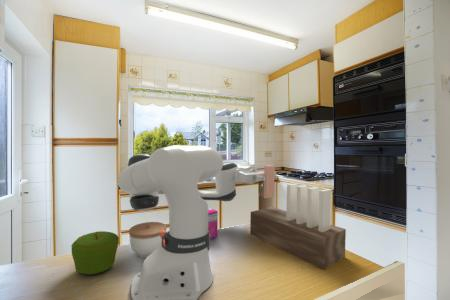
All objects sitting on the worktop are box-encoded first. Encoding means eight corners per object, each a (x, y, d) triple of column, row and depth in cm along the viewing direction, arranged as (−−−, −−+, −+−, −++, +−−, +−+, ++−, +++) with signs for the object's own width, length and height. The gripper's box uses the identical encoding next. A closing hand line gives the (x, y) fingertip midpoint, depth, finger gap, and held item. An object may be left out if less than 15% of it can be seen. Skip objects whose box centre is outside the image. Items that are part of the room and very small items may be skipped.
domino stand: (323, 269, 71) (324, 238, 71) (250, 234, 98) (250, 211, 98) (344, 257, 79) (345, 229, 79) (271, 227, 106) (272, 206, 106)
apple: (64, 284, 62) (64, 244, 62) (80, 261, 74) (80, 228, 73) (113, 277, 65) (113, 239, 65) (121, 257, 77) (121, 224, 77)
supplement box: (198, 236, 95) (199, 209, 95) (210, 233, 99) (210, 207, 99) (206, 241, 91) (206, 213, 91) (218, 237, 94) (218, 210, 94)
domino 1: (266, 198, 97) (266, 165, 96) (263, 197, 98) (264, 165, 97) (273, 196, 99) (274, 165, 99) (271, 196, 101) (271, 165, 100)
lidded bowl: (155, 264, 73) (155, 230, 73) (121, 259, 76) (121, 227, 75) (171, 246, 85) (172, 218, 85) (142, 243, 88) (142, 215, 88)
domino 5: (322, 232, 76) (323, 191, 75) (318, 230, 77) (319, 190, 77) (330, 229, 79) (331, 189, 78) (326, 227, 80) (326, 188, 80)
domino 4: (310, 228, 79) (311, 189, 79) (306, 226, 81) (307, 188, 80) (318, 225, 82) (319, 187, 82) (314, 224, 84) (315, 186, 83)
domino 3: (299, 224, 83) (300, 187, 83) (296, 223, 84) (296, 186, 84) (307, 221, 86) (308, 185, 86) (304, 220, 87) (304, 185, 87)
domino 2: (289, 221, 87) (290, 185, 86) (286, 219, 88) (286, 184, 88) (297, 218, 90) (298, 183, 89) (294, 217, 91) (294, 183, 91)
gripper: (264, 179, 115) (285, 183, 104) (232, 182, 103) (253, 187, 92) (264, 167, 115) (286, 169, 104) (233, 169, 103) (254, 172, 92)
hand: (270, 178), depth 98 cm, fingers closed on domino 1, 5 cm apart
